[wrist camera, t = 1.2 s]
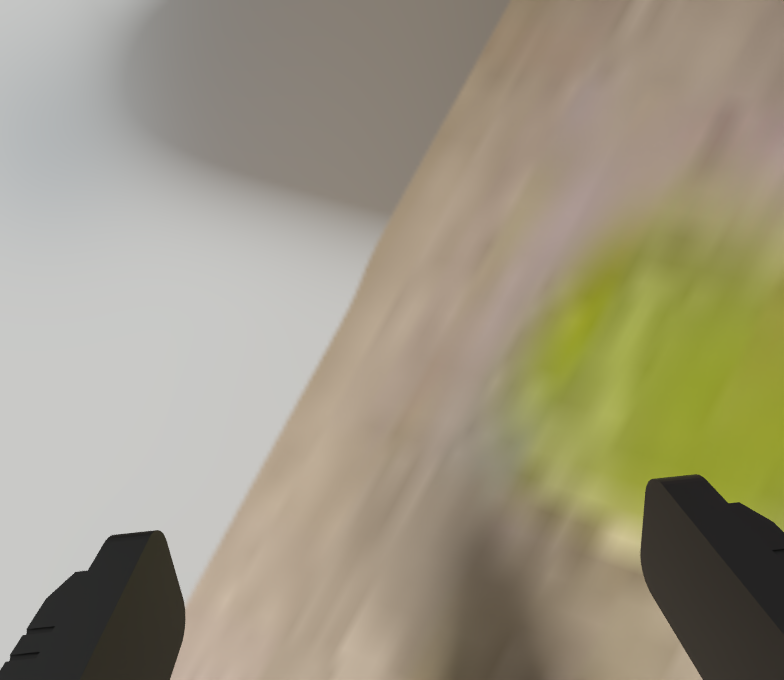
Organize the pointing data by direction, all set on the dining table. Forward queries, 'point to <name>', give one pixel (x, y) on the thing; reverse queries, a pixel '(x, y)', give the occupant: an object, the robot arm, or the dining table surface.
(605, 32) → the dining table surface
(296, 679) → the dining table surface
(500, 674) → the dining table surface
